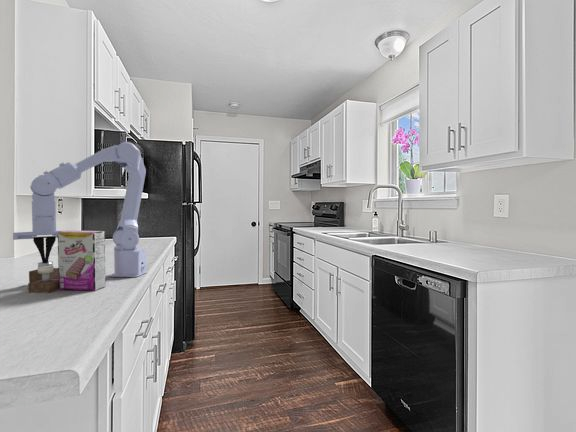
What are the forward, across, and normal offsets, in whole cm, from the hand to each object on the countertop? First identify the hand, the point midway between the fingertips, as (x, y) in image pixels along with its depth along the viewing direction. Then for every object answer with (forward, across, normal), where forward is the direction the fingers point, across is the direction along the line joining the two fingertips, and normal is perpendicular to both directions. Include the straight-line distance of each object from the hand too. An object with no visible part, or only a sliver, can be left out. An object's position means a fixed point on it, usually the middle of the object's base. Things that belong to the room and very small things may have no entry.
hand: (45, 262), depth 102 cm
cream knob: (+5, 0, -8) cm, 9 cm away
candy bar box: (+7, +8, -12) cm, 16 cm away
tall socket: (+7, 0, 0) cm, 7 cm away
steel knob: (+6, 0, 0) cm, 6 cm away
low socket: (+7, 0, -8) cm, 10 cm away
